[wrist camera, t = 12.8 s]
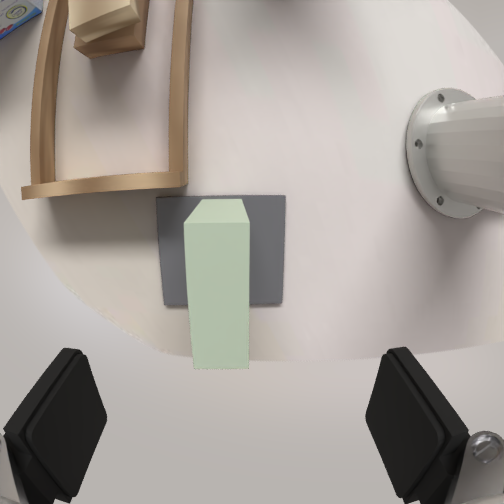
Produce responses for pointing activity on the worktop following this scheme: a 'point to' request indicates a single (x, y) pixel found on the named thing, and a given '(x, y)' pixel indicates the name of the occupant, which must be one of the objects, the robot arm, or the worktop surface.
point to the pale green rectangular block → (218, 283)
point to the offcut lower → (117, 38)
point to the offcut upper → (101, 17)
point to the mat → (261, 245)
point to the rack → (46, 106)
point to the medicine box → (17, 13)
